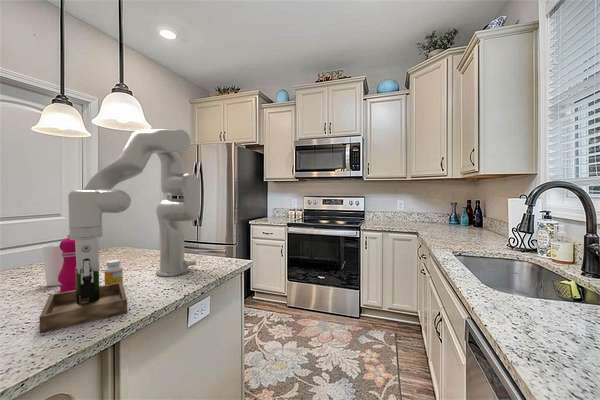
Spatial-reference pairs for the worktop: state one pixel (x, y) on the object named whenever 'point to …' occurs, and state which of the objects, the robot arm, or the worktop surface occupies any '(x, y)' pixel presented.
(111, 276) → the supplement bottle
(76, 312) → the box
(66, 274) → the pepper mill
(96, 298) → the beer can
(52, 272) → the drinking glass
